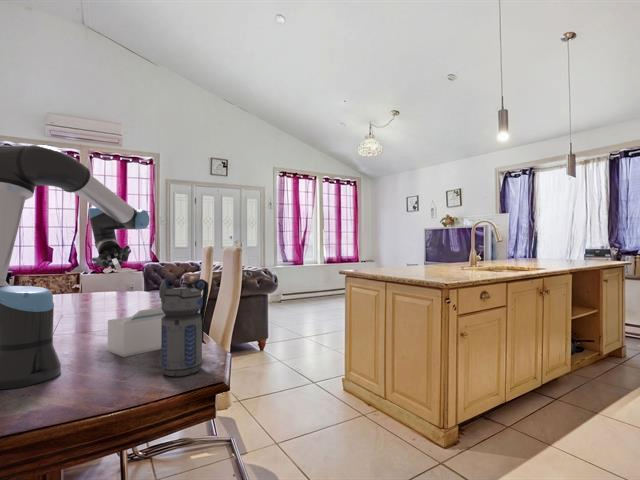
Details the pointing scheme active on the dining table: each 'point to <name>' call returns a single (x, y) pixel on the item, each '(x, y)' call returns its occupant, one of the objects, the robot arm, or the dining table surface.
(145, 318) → the lid
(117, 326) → the box
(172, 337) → the beverage bottle
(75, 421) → the dining table surface
